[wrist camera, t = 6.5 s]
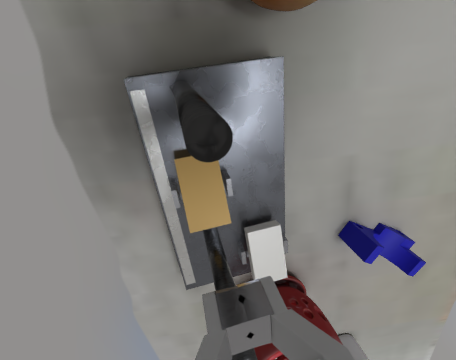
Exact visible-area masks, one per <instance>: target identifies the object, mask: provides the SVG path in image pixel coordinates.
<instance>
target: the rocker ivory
mask: <svg viewBox="0 0 456 360" xmlns="http://www.w3.org/2000/svg"><path fill="white" fill-rule="evenodd" d="M244 232H245V237H246V243H247V249H248V251H246V255H247V258H248V257H249V261H250V267H251V272H252V278H253V280H255V279H260V278H263V277H267V276H271V277H272V279H273V281H277V280H281V279H284V278H288V277H287V269H286V262H285V254H284V247H283V239H282V232H281V225H280V224H279V223H278V222H277V221H276V220H273V221H269V222H265V223H261V224H257V225H253V226H249V227H245V228H244Z"/></svg>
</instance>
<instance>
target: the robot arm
mask: <svg viewBox="0 0 456 360" xmlns="http://www.w3.org/2000/svg"><path fill="white" fill-rule="evenodd" d="M214 292H215V293H214ZM214 292H210V293H207V294H203V295H202V299H203V305H204V312H205V318H206V325H207V332H208V335H205V336H204V338H203V340H202V343H201V346H200V348H199V351H198V353H197V356H196V359H195V360H232V355H235V354H238V353H241V352H243V351H246V350H249V349H252V348H255V347H259V346H262V345H265V344H269V343H273V345H274V346H275V347H276V348H277V349H278V350H280V351H281V352H282V353H283V354H284V355H285V356H286V357H287V358H288V359H289V360H354V358H353V357H352V355H351V353H350V352H349V350H348V349H347V348H346V347H345V346H343V345H342V344H341V343H339V342H338V341H336V340H335V339H333V338H332V337H331V336H329V335H328V334H326V333H325V332H323V331H322V330H320V329H319V328H318V327H316V326H315V325H313V324H312V323H310V322H309V321H308V320H306V319H305V318H303V317H302V316H300V315H299V314H298V313H296V312H295V311H293V310H292V309H289V310H288V309H287V307H286V305H285V303H284V301H283V299H282V297H281V295H280V293H279V291H278V289H277V287H276V285H275V283H274V281H273V279H272V277H271V276H267V277H263V278H260V279H255V280H252V281H249V282H245V283H242V284H239V285H237V286H233V287H229V288H226V289H222V290H218V291H214ZM216 301H217V302H216Z"/></svg>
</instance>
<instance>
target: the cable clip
mask: <svg viewBox="0 0 456 360" xmlns="http://www.w3.org/2000/svg"><path fill="white" fill-rule="evenodd" d="M338 236H339V237H340V238H341V239H342V240H343V241H344V242H345V243H346V244H347V245H348V246H349V247H350V248H351V249H352V250H353V251H354V252H355V253H356V254H357V255H358V256H359V257H360V258H361V259H362V260H363V261H364V262H366V263H369V264H372V262H373V261H374V260H375V259H376V258H377V257H378V255H381V256H383V257H384V258H386V259H388V260H389V261H390V262H392V263H393V264H395V265H396V266H397V267H399V268H400V269H401V270H402V271H404V272H405V273H406V274H407V275H410V276H414V275H415V274H416V273H417V272H418V271H419V270H420V269H421V268H422V267H423V265H424V264H425V263H426V262H425V261H424V260H422V259H421V258H420V257H418V256H417V255H416V254H415V253H413V252H412V251H411V250H409V249H410V248H411V247H412V245H413V244H414V243H415V242H414V241H413V240H411V239H410V238H409V237H407V236H406V235H405V234H403V233H402V232H400V231H398V230H395V229H393V228H391V227H388V226H386V225H383V224H381V223H379V224H378V225H377V226H376V227H375V229H374V230H372V229H370V228H367V227H365V226H362V225H359V224H357V223H354V222H352V221H349V222H348V223H347V224H346V226H345V227H344V228H343V229H342V231H341V232H340V233H339V235H338Z"/></svg>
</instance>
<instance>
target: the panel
mask: <svg viewBox="0 0 456 360" xmlns="http://www.w3.org/2000/svg"><path fill="white" fill-rule="evenodd" d="M124 83H125V86H126V89H127V93H128V96H129V99H130V103H131V106H132V109H133V113H134V116H135V119H136V123H137V126H138V129H139V133H140V136H141V139H142V143H143V146H144V149H145V153H146V156H147V159H148V163H149V166H150V169H151V173H152V176H153V179H154V183H155V186H156V189H157V193H158V196H159V199H160V203H161V206H162V209H163V213H164V216H165V219H166V223H167V226H168V230H169V233H170V236H171V240H172V243H173V246H174V250H175V253H176V256H177V260H178V263H179V266H180V270H181V273H182V276H183V280H184V283H185V286H186V290H188V289H191V288H195V287H198V286H202V285H206V284H209V283H213V282H214V284H215V289H216V291H218V290H222V289H226V288H229V287H233V286H235V284H234V281H233V278H232V277H235V276H238V275H242V274H245V273H249V272H251V267H250V261H249V257H248V258H247V255H246V251H248V249H247V243H246V237H245V232H244V228H245V227H249V226H253V225H257V224H261V223H265V222H269V221H273V220H276V221H277V222H278V223H279V224H280V225H281V232H282V239H283V247H284V254H285V253H288V240H287V239H286V237H285V184H284V57H283V56H282V57H266V58H259V59H252V60H245V61H238V62H231V63H223V64H216V65H209V66H202V67H195V68H188V69H181V70H174V71H167V72H160V73H152V74H145V75H138V76H131V77H127V78H125V79H124ZM190 156H192V157H194V158H195V159H197V160H199V161H202V162H214V161H217V160H218V161H219V166H220V171H221V175H222V180H223V183H224V187H225V194H226V199H227V204H228V209H229V213H230V218H231V223H230V224H226V225H222V226H218V227H214V228H210V229H206V230H202V231H198V232H193V233H190V230H189V226H188V221H187V217H186V212H185V207H184V203H183V200H181V196H180V192H181V189H180V184H179V180H178V175H177V171H176V166H175V161H174V159H179V158H184V157H190ZM232 360H258V359H257V356H256V353H255V350H254V348H252V349H249V350H246V351H243V352H241V353H238V354H235V355H232Z"/></svg>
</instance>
